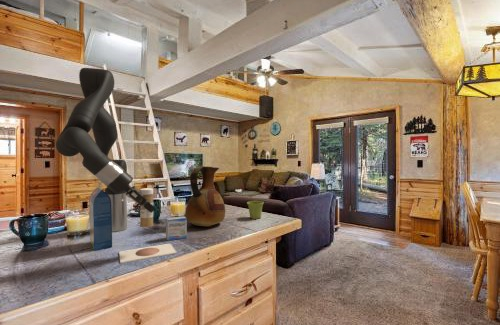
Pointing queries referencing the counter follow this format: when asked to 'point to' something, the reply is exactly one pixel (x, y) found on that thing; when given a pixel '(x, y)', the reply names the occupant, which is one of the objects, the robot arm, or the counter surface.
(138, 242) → the counter surface
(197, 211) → the ceramic pitcher
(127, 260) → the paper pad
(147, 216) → the sprinkles bottle
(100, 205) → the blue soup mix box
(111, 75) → the robot arm
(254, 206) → the plant pot
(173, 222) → the medicine box
